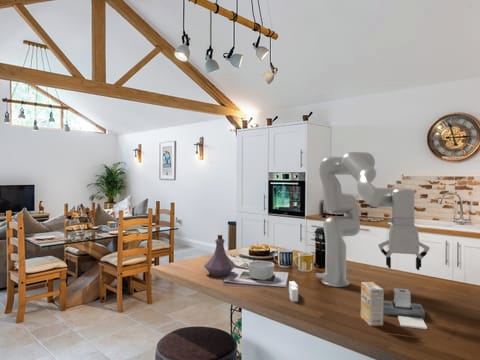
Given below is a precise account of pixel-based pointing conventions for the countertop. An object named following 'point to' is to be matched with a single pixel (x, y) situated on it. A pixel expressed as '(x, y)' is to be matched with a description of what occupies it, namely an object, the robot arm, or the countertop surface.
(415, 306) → the grey recessed block
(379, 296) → the supplement box
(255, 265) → the ramekin
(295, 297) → the white double box
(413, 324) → the coaster
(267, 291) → the countertop surface
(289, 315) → the countertop surface
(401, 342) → the countertop surface
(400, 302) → the grey rectangular block
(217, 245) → the flask
